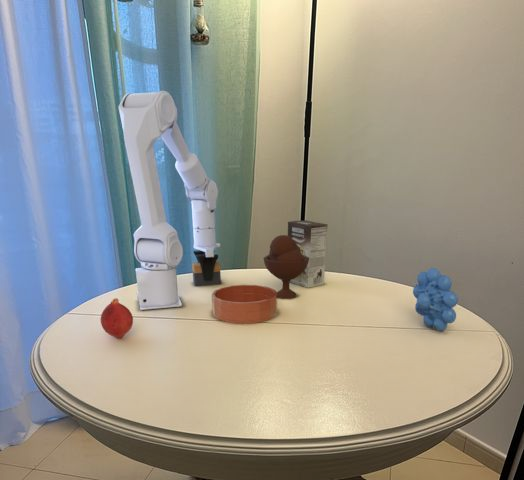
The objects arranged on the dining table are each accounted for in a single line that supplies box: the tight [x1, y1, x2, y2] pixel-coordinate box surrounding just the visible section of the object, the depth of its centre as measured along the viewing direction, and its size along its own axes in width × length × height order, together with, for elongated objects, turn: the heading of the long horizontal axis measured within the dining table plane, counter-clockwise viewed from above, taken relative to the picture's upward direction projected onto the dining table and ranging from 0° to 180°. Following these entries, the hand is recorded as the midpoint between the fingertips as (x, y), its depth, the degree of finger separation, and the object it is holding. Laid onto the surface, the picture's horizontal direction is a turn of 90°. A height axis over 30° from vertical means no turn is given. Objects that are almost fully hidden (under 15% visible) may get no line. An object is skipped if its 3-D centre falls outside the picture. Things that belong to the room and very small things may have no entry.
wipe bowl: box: [211, 284, 278, 325], centre depth 100 cm, size 14×14×4 cm
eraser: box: [191, 261, 222, 287], centre depth 123 cm, size 7×4×6 cm, turn 106°
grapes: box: [412, 267, 459, 332], centre depth 90 cm, size 12×7×12 cm, turn 23°
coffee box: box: [287, 220, 329, 288], centre depth 121 cm, size 9×6×16 cm
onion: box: [100, 297, 134, 339], centre depth 86 cm, size 6×6×8 cm
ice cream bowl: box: [263, 234, 309, 300], centre depth 110 cm, size 11×11×15 cm
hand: (206, 278), depth 124 cm, fingers closed on eraser, 3 cm apart
